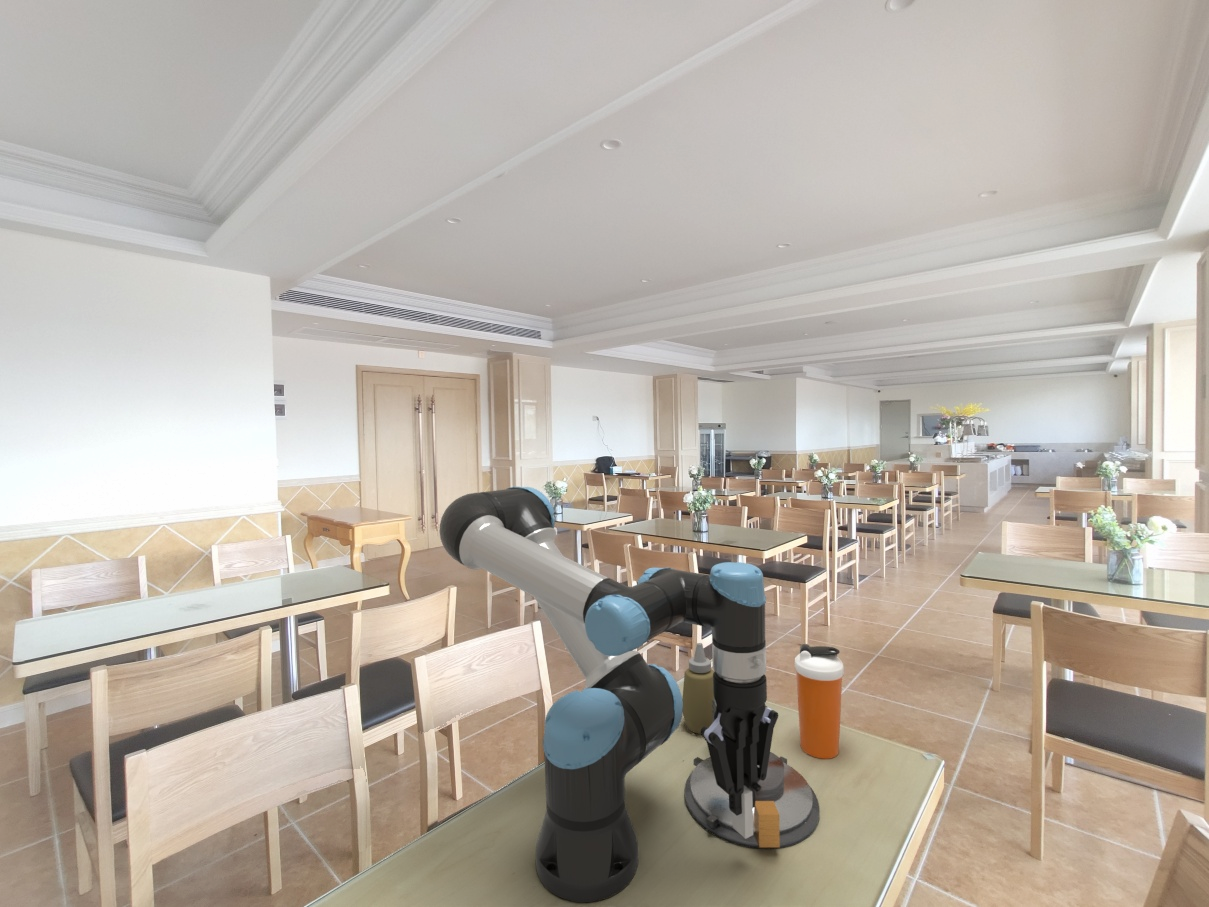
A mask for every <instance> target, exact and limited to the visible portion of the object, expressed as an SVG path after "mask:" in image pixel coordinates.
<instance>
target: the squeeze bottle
mask: <svg viewBox="0 0 1209 907" xmlns="http://www.w3.org/2000/svg"><path fill="white" fill-rule="evenodd" d="M713 673H714V669H713V668H712V661H711V660H710V659H709V657H708V658H707V657H706V653H705V650H704V645H703V643H702V642H698V643H696V645H695V651H694V657H690V658H689V660H688V668H687V669H686V670H685V671H684V677H683V687H682V688H683V690H682V700H683V708H682V717H683V718H684V721H685V724H686V727H687V729H688V730H689V731H690V732H692V733H695V734H697V735H698V734H699V735H702V734H701V729H702V728H703V727H707V728H709V727H710V726H711V724H712V723H713V716H712V699H715V698H714V694H713Z"/></svg>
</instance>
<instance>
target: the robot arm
mask: <svg viewBox="0 0 1209 907" xmlns="http://www.w3.org/2000/svg"><path fill="white" fill-rule="evenodd" d="M554 514H555V510H554V508H553V505H552V503H551V502H550V500H549V498H548V497H547V496H546V495H545V494H544V493H543V492H542V491H540V490H539V489H537V488H535V487H529V486H511V487H508V488H505V489H498V490H497V489H496V490H490V491H489V490H488V491H480V492H473V493H467V494H464V495H462V496H460V497H458V498H456V499H455V500H454V501H452V502H450V504H449V505H448V506H447V507H446V508H445V510H444V513H443V514H442V517H440V518H441V519H440V523H439V537H440V538H439V539H440V542H441V543H442V544H441V545H442V546H443V548H444V549H445V551H446V553H447V554H448V555H449V556H450V557H451V558H452V559H453V560H456V562H457V563H459V564H461V565H463V566H465V567H466V568H468V569H470V570H473V571H474V570H482V569H483V570H484V571H487V573H488V572H489V573H490V574H491V575H493V576H495V577H497V578H499V579H501V580H502V581H505V582H506V583H508V584H510V585H511V586H513V587H515V588H516V589H519V590H520V591H522V592H524V593H527V594H528V595H530V596H531V597H533V598H534V599H535V600H536V602H537V604H538V605H539V608H540V609H541V611H542V612H543V613H544V615H545V617H546V618H547V619H548V621H549V623H550V624H551V626H552V628H553V629H554V630H555V632H556V634H557V636H558V637H559V639H560V640H561V642H562V643H563V645H564V647H565V648H566V650H567V652H568V653H569V655H570V656H571V658H572V660H573V661H574V663H575V664H576V666H577V668H578V669H579V671H580V672H581V674H582V676H583V677H584V678H585V686H584V688H583V689H582V690H581V691H580V690H577V689H576V690H574V691H571V692H569V693H566V694H564V695H562V696H561V697H560V698H558V699H557V700H556V701H555V702H554V703H553V704H551V706H550V708H549V709H548V711H547V713H546V716H545V720H544V732H543V739H542V746H543V754H544V755H543V756H544V759H543V760H544V777H545V802H546V805H545V806H546V810H545V815H544V818H543V820H542V825H541V828H540V832H539V836H538V838H537V842H536V846H535V870H536V874H537V876H538V878H539V880H540V883H541V884H542V885H543V886H544V887H545V889H547V891H549V892H550V893H552V894H554V895H555V896H557V897H558V898H562V899H564V900H567V901H571V902H577V903H589V902H590V903H591V902H598V901H602V900H605V899H608V898H610V897H612V896H614V895H616V894H618V893H619V892H621V891H622V890H623V889H624V888H626V886H628V885H629V884H630V882H631V881H632V879H633V878H634V876H635V875H636V872H637V870H638V867H639V845H638V844H639V843H638V838H637V836H636V833H635V830H634V827H633V823H632V821H631V818H630V815H629V812H628V809H627V808H626V791H625V790H626V788H625V784H626V782H625V780H626V779H625V778H626V775H627V774H628V773H629V772H631V771H632V769H634V767H636V766H637V765H639V764H640V763H641V762H642V761H644V759H646V758H647V757H648V756H649V755H650V754H652V752H654V751H655V750H656V749H657V748H658V747H660V746H662V745H663V744H665V743H666V742H667V741H669V739H670V738H671V736H672V735H673V734H674V733H675V731H676V730H677V729H678V728H679V726H680V723H681V722H682V717H683V713H682V708H683V700H682V698H683V694H682V692H681V689H680V687H679V685H678V682H677V681H676V679H675V678H674V676H673V675H672V674H671V673H670V672H669V671H668V670H667V668H664V667H663V666H659V665H658V664H654V663H650V664H649V663H647V662H646V660H645V659H644V657H643V656H642V654H641V653H640V651H636V649H638V648H640V647H642V646H643V645H644V644H645V643H647V642H648V641H650V640H652V639H654V638H655V637H657V636H659V635H660V634H661V635H662V634H663V633H664V632H665V633H666V631H668V630H670V629H672V628H673V627H675V626H677V625H679V624H681V623H687V624H690V625H691V624H692V625H696V626H699V627H700V626H701V627H705V628H706V627H708V628H711V648H712V649H711V651H712V652H711V654H712V655H711V657H712V661H711V667H712V670H713V671H714V673H713V694H714V698H715V701H716V705H717V707H716V711H715V713H714V719H715V721H714V722H713V723H712V724H711V726H710V727H709V728H707V727H703V728H702V729H701V734H700V735H701V736H702V737H703V739H704V740H705V741H706V746H707V750H708V752H709V757H710V758H711V762H712V766H713V771H714V775H715V779H716V783H717V785H718V786H719V787H720V788H721V789H723V790H724V791H725V792H726V793H727V794H729V808H730V810H731V811H732V820H733V828H734V829H735V830H736V831H737V832H738V833H739V834H741V835H742V836H743V837H744V838H745V839H746V838H748V837H750V836H752V835H753V808H754V807H755V791H756V792H759V791H760V789H761V786H760V785H759V784H758V783H757V782H758V781H759V780H762V781H763V780H765V778H766V775H767V769H768V762H769V755H770V752H771V748H772V742H773V734H774V729H775V725H776V723H777V721H778V719H779V713H778V711H775V710H773V709H772V708H770V707H768V706H767V705H766V702H767V699H768V691H767V690H768V688H767V687H768V686H767V676H766V673H767V655H766V654H767V653H766V652H767V651H766V650H767V649H766V644H767V642H766V603H767V602H766V601H767V597H766V594H765V592H766V591H765V583H764V582H765V581H764V574H763V571H762V570H761V569H760V568H759V567H758V566H756V565H754V564H751V563H748V562H746V563H745V562H733V561H732V562H731V561H730V562H729V561H726V562H720V563H716V564H715V565H713V566H712V567H711V569H710V572H709V574H705V573H699V572H698V573H697V572H691V571H687V570H686V571H685V570H679V569H675V568H671V567H650V568H647V569H646V570H645V571H643V574H642V575H640V576H639V578H638V581H637V584H635V585H633V586H628V585H626V584H624V583H621V582H619V581H617V580H614V579H612V578H610V577H607V576H605V575H603V574H602V573H599V572H597V571H595V570H593V569H591V568H589V567H588V566H587V567H586V566H585V565H582V564H581V563H579V562H576V561H574V560H572V559H570V558H568V557H566V556H564V555H563V553H562V552H561V551H560V549H559V548H558V546H557V545H556V544H555V543H556V542H555V540H556V537H557V531H556V529H555V526H556V517H554ZM721 730H722V731H723V737H722V734H721ZM723 739H724V740H725V747H724V745H723V742H722V740H723ZM725 750H726V751H725ZM758 765H759V768H758V767H757V766H758Z"/></svg>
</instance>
